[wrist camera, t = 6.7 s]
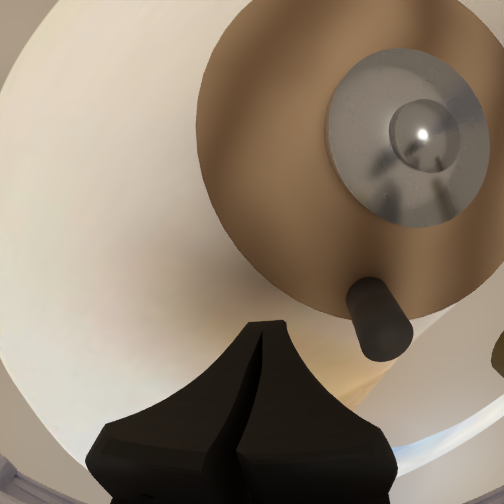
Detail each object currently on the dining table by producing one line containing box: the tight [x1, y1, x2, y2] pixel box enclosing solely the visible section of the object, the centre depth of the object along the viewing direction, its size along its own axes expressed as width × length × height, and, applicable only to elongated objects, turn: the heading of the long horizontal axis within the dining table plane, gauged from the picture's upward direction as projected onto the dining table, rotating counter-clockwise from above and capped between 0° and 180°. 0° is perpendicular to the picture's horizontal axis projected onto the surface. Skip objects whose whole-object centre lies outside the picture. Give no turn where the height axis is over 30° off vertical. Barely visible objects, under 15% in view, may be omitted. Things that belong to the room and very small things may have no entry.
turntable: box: [196, 0, 504, 362], centre depth 12 cm, size 20×20×5 cm
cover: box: [324, 48, 490, 228], centre depth 11 cm, size 8×8×3 cm
